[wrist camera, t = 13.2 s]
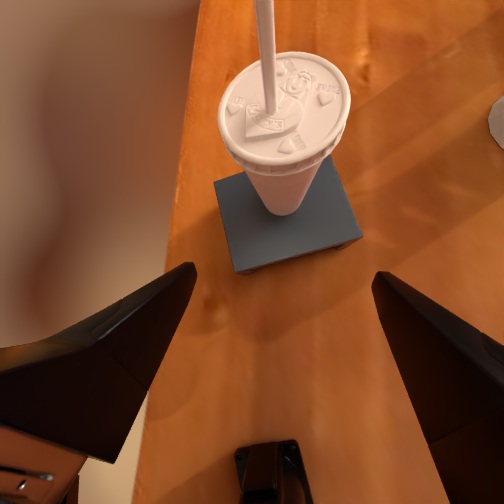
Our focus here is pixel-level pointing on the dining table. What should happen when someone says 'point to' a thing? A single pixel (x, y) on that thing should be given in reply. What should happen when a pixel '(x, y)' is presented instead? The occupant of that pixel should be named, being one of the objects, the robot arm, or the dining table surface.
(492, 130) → the french press
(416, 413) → the robot arm
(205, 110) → the dining table surface
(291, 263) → the dining table surface
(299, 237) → the grey footed stand
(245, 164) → the smoothie
